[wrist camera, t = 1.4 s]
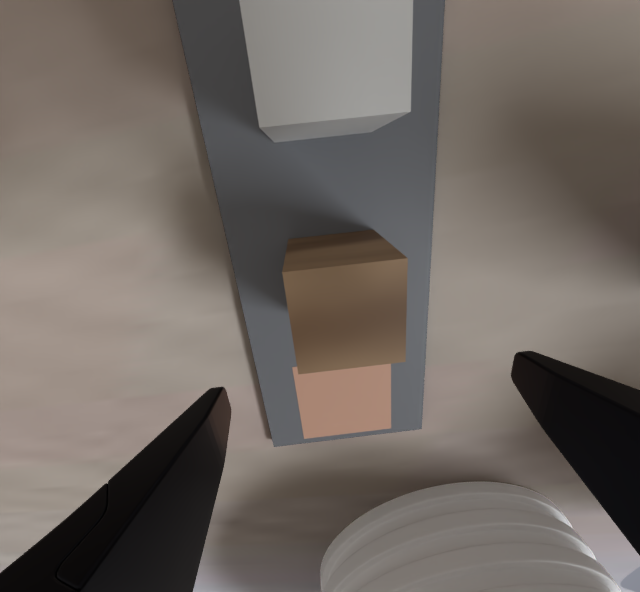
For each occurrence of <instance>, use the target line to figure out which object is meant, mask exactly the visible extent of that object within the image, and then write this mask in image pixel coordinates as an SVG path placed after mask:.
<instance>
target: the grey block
mask: <svg viewBox="0 0 640 592" xmlns="http://www.w3.org/2000/svg"><path fill="white" fill-rule="evenodd" d="M239 2H240V9H241V15H242V21H243V27H244V34H245V40H246V46H247V53H248V59H249V65H250V72H251V78H252V84H253V91H254V97H255V103H256V110H257V116H258V122H259V128H260V129H261V130H262V131H263V132H264V133H265V134H266V135H267V136H268V137H269V138H270V139H271V140H272V141H273V142H274V143H275V142H285V141H294V140H304V139H313V138H323V137H332V136H341V135H351V134H360V133H370V132H373V131H375V130H377V129H378V128H380V127H382V126H384V125H386V124H388V123H390V122H392V121H394V120H396V119H398V118H400V117H402V116H403V115H405V114H407V113H409V112H411V78H412V32H413V0H239Z"/></svg>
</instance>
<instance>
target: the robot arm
mask: <svg viewBox="0 0 640 592" xmlns="http://www.w3.org/2000/svg"><path fill="white" fill-rule="evenodd" d="M511 378H512V381H513V383H514V384H515V386H516V387H517V389H518V391H519V392H520V394H521V395H522V397H523V399H524V400H525V402H526V403H527V405H528V407H529V408H530V410H531V411H532V413H533V415H534V416H535V418H536V419H537V421H538V422H539V424H540V425H541V427H542V428H543V430H544V431H545V432H546V434H547V435H548V436H549V438H550V439H551V440H552V441H553V443H554V444H555V445H556V447H557V448H558V449H559V451H560V452H561V453H562V455H563V456H564V457H565V458H566V460H567V461H568V462H569V464H570V465H571V466H572V468H573V469H574V470H575V472H576V473H577V474H578V476H579V477H580V478H581V479H582V481H583V482H584V483H585V485H586V486H587V487H588V489H589V490H590V491H591V493H592V494H593V495H594V496H595V498H596V499H597V500H598V502H599V503H600V504H601V506H602V507H603V508H604V510H605V511H606V512H607V513H608V515H609V516H610V517H611V519H612V520H613V521H614V523H615V524H616V525H617V527H618V528H619V529H620V530H621V532H622V533H623V534H624V536H625V537H626V538H627V540H628V541H629V542H630V544H631V545H632V546H633V547H634V549H635V550H636V551H637V553H638V554H639V555H640V390H638V389H635V388H632V387H630V386H627V385H624V384H621V383H619V382H616V381H613V380H610V379H608V378H605V377H602V376H599V375H597V374H594V373H591V372H588V371H586V370H583V369H580V368H577V367H575V366H572V365H569V364H566V363H564V362H561V361H558V360H555V359H553V358H550V357H547V356H544V355H541V354H539V353H536V352H533V351H523V352H518V353H516V354H515V356H514V361H513V366H512V371H511ZM230 419H231V406H230V403H229V399H228V396H227V392H226V390H225V388H224V387H216V388H210V389H209V390H208V391H207V392H206V393H204V394H203V395H202V396H201V397H200V398H199V399H198V400H197V401H196V402H195V403H193V404H192V405H191V406H190V407H189V408H188V409H187V410H186V411H185V412H184V413H182V414H181V415H180V416H179V417H178V418H177V419H176V420H175V421H174V422H173V423H171V424H170V425H169V426H168V427H167V428H166V429H165V430H164V431H163V432H162V433H160V434H159V435H158V436H157V437H156V438H155V439H154V440H153V441H152V442H151V443H150V444H148V445H147V446H146V447H145V448H144V449H143V450H142V451H141V452H140V453H139V454H137V455H136V456H135V457H134V458H133V459H132V460H131V461H130V462H129V463H128V464H126V465H125V466H124V467H123V468H122V469H121V470H120V471H119V472H118V473H117V474H115V475H114V476H113V477H112V478H111V479H110V480H109V481H108V484H107V483H106V484H104V485H103V486H102V487H101V488H100V489H99V490H98V491H97V492H96V493H94V494H93V495H92V496H91V497H90V498H89V499H88V500H87V501H86V502H84V503H83V504H82V505H81V506H80V507H79V508H78V509H76V510H75V511H74V512H73V513H72V514H71V515H70V516H69V517H67V518H66V519H65V520H64V521H63V522H61V523H60V524H59V525H58V526H57V527H56V528H54V529H53V530H52V531H51V532H50V533H48V534H47V535H46V536H45V537H44V538H42V539H41V540H40V541H39V542H38V543H36V544H35V545H34V546H33V547H31V548H30V549H29V550H28V551H27V552H25V553H24V554H23V555H22V556H20V557H19V558H18V559H17V560H16V561H14V562H13V563H12V564H11V565H9V566H8V567H7V568H6V569H5V570H3V571H2V572H1V573H0V592H193V588H194V584H195V580H196V576H197V572H198V568H199V564H200V560H201V556H202V552H203V548H204V544H205V540H206V536H207V532H208V528H209V524H210V520H211V516H212V512H213V508H214V504H215V500H216V496H217V492H218V488H219V484H220V480H221V476H222V472H223V467H224V462H225V456H226V448H227V441H228V434H229V427H230Z"/></svg>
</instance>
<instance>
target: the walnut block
mask: <svg viewBox="0 0 640 592" xmlns="http://www.w3.org/2000/svg"><path fill="white" fill-rule="evenodd" d="M407 270H408V258H407V257H406V256H405V255H403V254H402V253H401V252H400V251H399V250H397V249H396V248H395V247H394V246H393V245H391V244H390V243H389V242H388V241H387V240H385V239H384V238H383V237H382V236H381V235H380V234H378V233H377V232H376V231H375V230H365V231H356V232H347V233H338V234H329V235H320V236H311V237H302V238H293V239H288V243H287V249H286V254H285V260H284V265H283V271H282V274H283V281H284V287H285V293H286V300H287V306H288V312H289V319H290V325H291V331H292V338H293V344H294V350H295V356H296V363H297V369H298V375H299V374H307V373H316V372H324V371H333V370H341V369H349V368H358V367H366V366H375V365H383V364H392V363H400V362H406V316H407Z"/></svg>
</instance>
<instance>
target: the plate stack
mask: <svg viewBox="0 0 640 592" xmlns="http://www.w3.org/2000/svg"><path fill="white" fill-rule="evenodd" d="M320 584H321V592H622V591H621V589H620V588H619V586H618V585H617V584H616V582H615V581H614V580H613V578H612V577H611V576H610V574H609V573H608V572H607V571H606V569H605V568H604V567H603V566H602V565H601V564H600V563H599V562H597V560H596V558H595V556H594V554H593V552H592V551H591V549H590V548H589V547H588V545H587V544H586V543H585V542H584V540H583V539H582V538H581V536H580V535H579V534H578V533H577V532H576V531H575V530H574V529H573V527H572V525H571V524H570V522H569V521H568V519H567V518H566V517H565V515H564V514H563V513H562V511H561V510H560V509H559V508H558V506H557V505H556V504H555V503H553V502H552V501H551V500H550V499H548V498H547V497H545V496H543V495H542V494H540V493H538V492H536V491H533V490H531V489H528V488H525V487H521V486H517V485H512V484H507V483H499V482H460V483H451V484H444V485H439V486H434V487H429V488H425V489H421V490H418V491H414V492H411V493H408V494H405V495H402V496H400V497H397V498H395V499H392V500H390V501H387V502H385V503H383V504H381V505H379V506H377V507H375V508H373V509H372V510H370V511H368V512H366V513H365V514H363V515H362V516H360V517H359V518H357V519H356V520H355V521H353V522H352V523H351V524H349V525H348V526H347V527H346V528H345V529H344V530H343V531H342V532H340V534H339V535H338V536H337V537H336V538H335V539H334V540H333V542H332V543H331V544H330V546H329V547H328V549H327V551H326V553H325V555H324V557H323V560H322V563H321V568H320Z"/></svg>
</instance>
